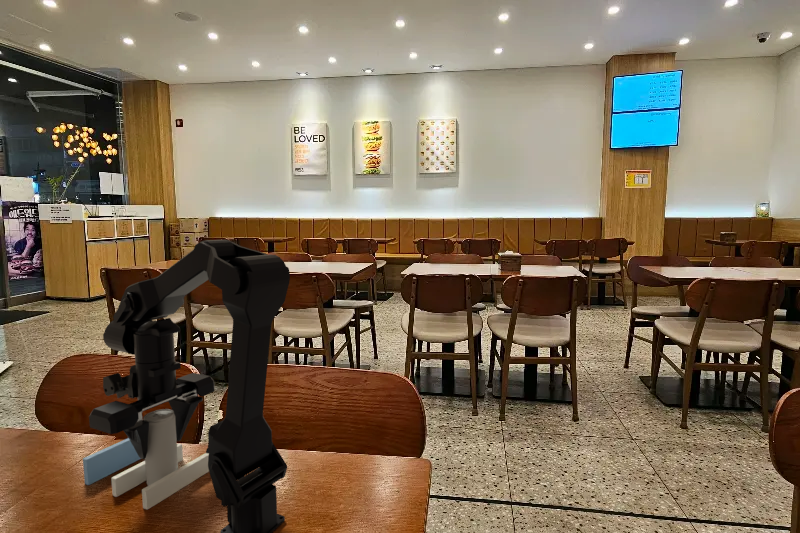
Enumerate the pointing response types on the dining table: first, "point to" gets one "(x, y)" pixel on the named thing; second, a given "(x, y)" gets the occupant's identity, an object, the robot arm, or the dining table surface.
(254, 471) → the robot arm
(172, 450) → the beverage can
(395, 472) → the dining table surface
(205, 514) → the dining table surface
